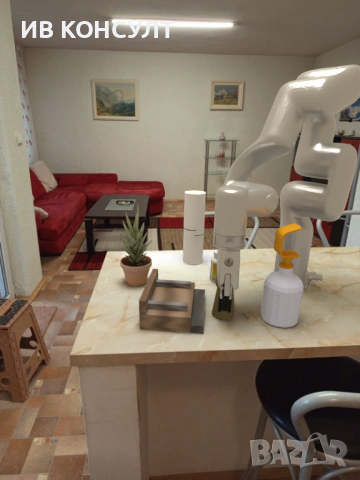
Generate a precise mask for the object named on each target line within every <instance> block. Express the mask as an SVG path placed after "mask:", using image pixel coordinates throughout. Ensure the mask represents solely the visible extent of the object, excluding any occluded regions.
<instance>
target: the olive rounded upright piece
mask: <svg viewBox="0 0 360 480" xmlns="http://www.w3.org/2000/svg"><path fill="white" fill-rule="evenodd" d="M224 278H225V277H224ZM214 284H215V287H216V290H215V295H214V299H213V300H214V301H213V306H212V309H211V316H212V317H213V318H214V319H215V320H218V321H221V322H222V321H223V322H224V321H225V322H229V321H232V320H234V318H236V306H235V303H236V302H235V289H233V286H232V296H231V298H232V304H231V312H230V313H228V312H227V311H221V312H218V300H219V297H220V288H219V287H218V280H217V277H216V280H215V282H214ZM222 286H224V284H222ZM223 292H224V289H223V291H222V293H223Z"/></svg>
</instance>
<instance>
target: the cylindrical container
mask: <svg viewBox="0 0 360 480" xmlns="http://www.w3.org/2000/svg"><path fill="white" fill-rule="evenodd" d="M206 197H207V192H206V191H203V190H194V189H193V190H185V191H184V199H183V200H184V204H183V207H184V208H183V237H182V239H183V241H182V242H183V243H182V245H183V247H182V262H183V263H184V264H186V265H188V266H189V265H190V266H198V265H201V264H203V262H204V261H203V260H204V241H205V240H204V239H205V238H204V237H205V236H204V235H205V221H206V220H205V219H206V218H205V216H206Z"/></svg>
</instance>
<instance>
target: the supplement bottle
mask: <svg viewBox="0 0 360 480" xmlns="http://www.w3.org/2000/svg"><path fill="white" fill-rule="evenodd" d="M217 250H218V249H214V251H213V255H212V257H211V258H210V268H209V270H210V271H209V280H210V281H211V282H213V283H215V280H216V277H217Z"/></svg>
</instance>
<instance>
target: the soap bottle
mask: <svg viewBox="0 0 360 480" xmlns="http://www.w3.org/2000/svg"><path fill="white" fill-rule="evenodd" d="M301 229H302V228H301V227H300V226H299V225H297V224H295V223H293V224H289V225H286V226H283V227H280V226H279V227H278V228H277V229H276V230H275V234H274V241H273V242H274V243H273V249H274V251H275V252H277V253H278V254H279V255H280V256H281V258H282V259H283V262H280V263H279V269H278V271H277V272H274V271H273V273H272V272H271V273H272V274H270V273H269V274H270V275H269V274H268V275H267V276H266V278H265V280H264V282H263V290H262V291H263V292H262V300H261V307H260V308H261V309H260V316H261V318H262V320H263V321H264V322H265V323H267V324H268V325H271V326H274V327H277V328H292V327H295V325H297V324H298V322H299V321H298V320H299V316H300V309H301V303H302V298H303V292H304V291H303V283H302V281H301V280H300V279H299V278H298V277H297V276H296V275H294V274H293V267H294V265H293V264H292V263H291V260H293V259H294V258H299V257H300V255H299V254H298V253H297V252H296V251H294V250H282V248H283V241H284V237H285V236H286V235H287V234H290V233H293V232H296V231H299V230H301Z"/></svg>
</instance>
